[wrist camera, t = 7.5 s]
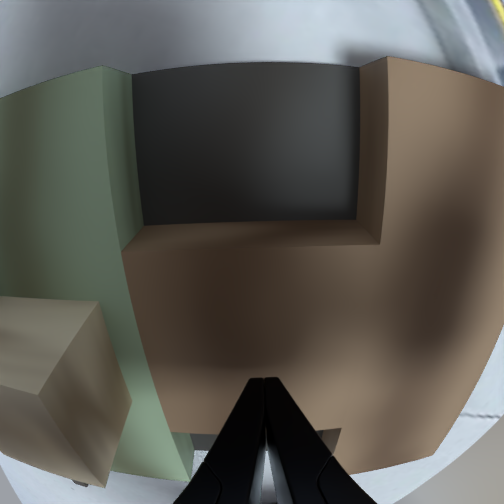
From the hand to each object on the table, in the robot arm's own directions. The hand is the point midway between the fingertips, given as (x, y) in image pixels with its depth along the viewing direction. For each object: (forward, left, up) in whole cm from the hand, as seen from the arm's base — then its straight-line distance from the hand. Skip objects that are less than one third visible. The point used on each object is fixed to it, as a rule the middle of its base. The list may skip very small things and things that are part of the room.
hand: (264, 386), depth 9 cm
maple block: (0, +7, -1) cm, 7 cm away
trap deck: (0, 0, -4) cm, 4 cm away
